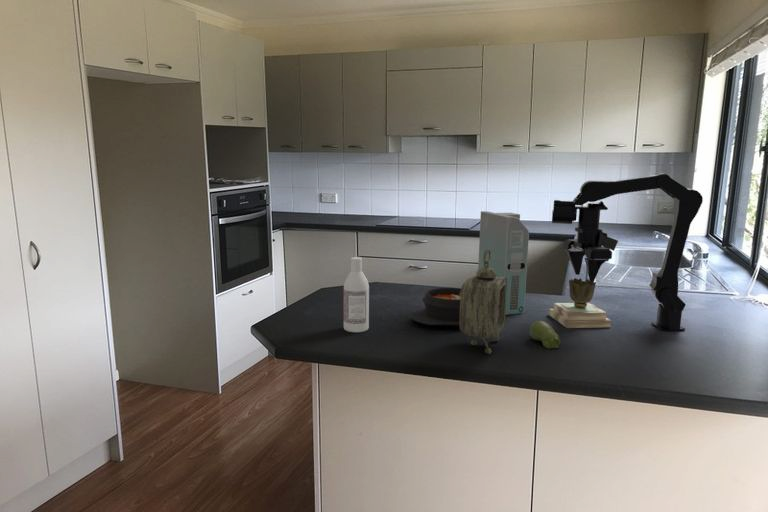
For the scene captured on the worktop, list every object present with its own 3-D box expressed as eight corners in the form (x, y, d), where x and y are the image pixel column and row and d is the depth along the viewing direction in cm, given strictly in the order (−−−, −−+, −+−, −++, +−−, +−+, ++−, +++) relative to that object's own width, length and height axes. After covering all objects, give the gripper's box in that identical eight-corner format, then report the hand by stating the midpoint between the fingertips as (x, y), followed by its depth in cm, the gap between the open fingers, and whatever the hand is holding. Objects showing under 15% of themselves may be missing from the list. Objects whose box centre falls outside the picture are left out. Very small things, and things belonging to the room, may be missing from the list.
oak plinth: (610, 327, 163) (611, 312, 162) (566, 327, 161) (567, 313, 160) (589, 314, 175) (590, 301, 175) (548, 314, 174) (549, 301, 173)
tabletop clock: (493, 358, 137) (499, 255, 132) (457, 352, 140) (460, 252, 136) (504, 340, 150) (509, 246, 146) (470, 335, 153) (474, 243, 149)
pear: (545, 316, 152) (567, 334, 143) (541, 334, 154) (564, 352, 145) (527, 318, 150) (548, 335, 142) (524, 336, 152) (545, 354, 143)
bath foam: (350, 324, 162) (351, 254, 158) (372, 327, 159) (373, 257, 155) (339, 330, 156) (339, 258, 152) (361, 334, 153) (362, 261, 149)
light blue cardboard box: (524, 313, 176) (530, 216, 170) (502, 315, 173) (507, 217, 168) (496, 300, 191) (501, 210, 185) (476, 301, 188) (480, 211, 183)
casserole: (466, 308, 180) (467, 282, 179) (505, 324, 164) (506, 296, 162) (397, 318, 169) (398, 290, 167) (431, 336, 152) (432, 306, 151)
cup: (564, 308, 166) (566, 281, 164) (569, 302, 172) (571, 276, 171) (591, 312, 162) (593, 284, 161) (595, 306, 169) (597, 279, 167)
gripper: (632, 229, 156) (627, 284, 158) (599, 220, 174) (595, 271, 177) (593, 229, 154) (589, 285, 157) (564, 221, 173) (561, 271, 175)
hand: (584, 277), depth 167 cm, fingers open, 9 cm apart
